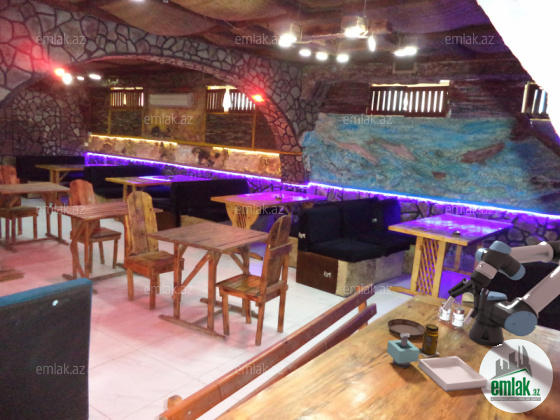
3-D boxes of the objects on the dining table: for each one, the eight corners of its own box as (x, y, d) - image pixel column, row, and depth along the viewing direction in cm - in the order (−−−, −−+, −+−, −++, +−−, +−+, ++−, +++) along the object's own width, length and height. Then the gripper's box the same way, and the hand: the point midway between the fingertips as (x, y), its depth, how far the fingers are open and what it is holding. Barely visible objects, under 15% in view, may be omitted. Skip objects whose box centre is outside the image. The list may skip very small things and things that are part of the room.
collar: (405, 350, 187) (407, 339, 186) (417, 361, 179) (419, 349, 178) (386, 352, 184) (388, 340, 184) (398, 363, 176) (399, 351, 175)
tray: (455, 362, 186) (456, 356, 186) (486, 387, 169) (487, 379, 169) (418, 366, 181) (419, 359, 180) (445, 391, 164) (447, 384, 163)
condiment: (440, 354, 193) (444, 328, 191) (427, 358, 188) (431, 331, 186) (426, 346, 199) (430, 321, 197) (413, 350, 194) (417, 324, 192)
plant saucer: (381, 332, 210) (382, 326, 209) (393, 320, 225) (393, 315, 224) (419, 344, 201) (420, 338, 200) (428, 331, 216) (429, 325, 215)
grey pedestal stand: (404, 358, 186) (408, 329, 184) (413, 367, 180) (417, 337, 177) (389, 359, 184) (393, 330, 182) (398, 368, 178) (402, 338, 175)
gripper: (457, 261, 196) (430, 300, 196) (499, 280, 173) (469, 325, 173) (468, 269, 199) (441, 308, 199) (511, 289, 175) (481, 333, 175)
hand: (454, 316), depth 186 cm, fingers open, 13 cm apart
